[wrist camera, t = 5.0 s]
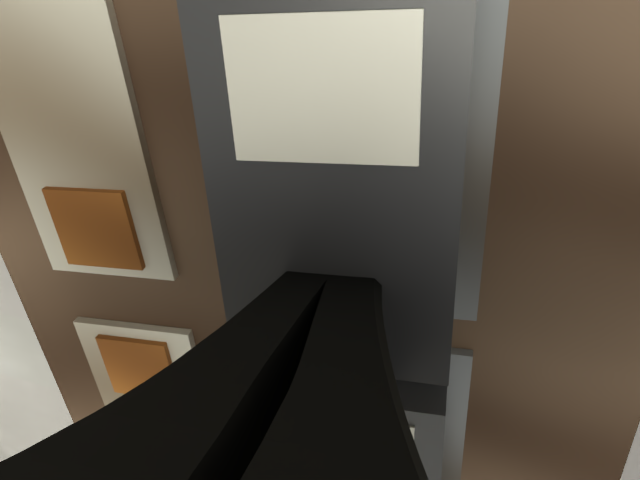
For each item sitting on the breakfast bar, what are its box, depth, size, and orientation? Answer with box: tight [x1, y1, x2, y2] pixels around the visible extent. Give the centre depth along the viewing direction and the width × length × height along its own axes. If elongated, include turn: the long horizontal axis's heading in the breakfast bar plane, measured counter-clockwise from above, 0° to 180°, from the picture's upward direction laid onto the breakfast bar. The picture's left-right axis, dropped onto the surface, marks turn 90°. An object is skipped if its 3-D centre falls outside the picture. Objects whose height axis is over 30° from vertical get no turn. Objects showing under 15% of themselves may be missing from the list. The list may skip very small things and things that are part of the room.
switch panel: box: [0, 0, 640, 480], centre depth 10 cm, size 22×14×2 cm, turn 4°
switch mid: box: [176, 0, 477, 386], centre depth 8 cm, size 6×4×1 cm, turn 4°
